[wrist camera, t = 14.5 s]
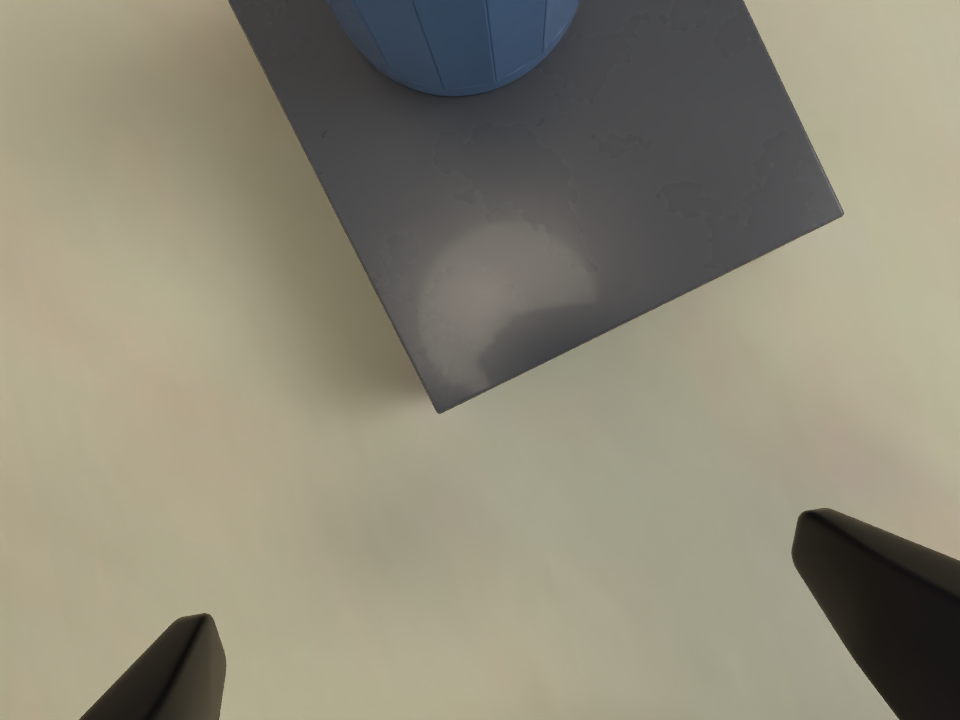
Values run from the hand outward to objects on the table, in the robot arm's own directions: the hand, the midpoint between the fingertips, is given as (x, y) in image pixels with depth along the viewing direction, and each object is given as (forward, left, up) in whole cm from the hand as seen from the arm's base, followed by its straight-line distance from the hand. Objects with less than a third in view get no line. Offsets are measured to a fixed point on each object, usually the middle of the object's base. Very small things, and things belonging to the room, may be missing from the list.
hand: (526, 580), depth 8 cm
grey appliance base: (+3, -10, -12) cm, 16 cm away
